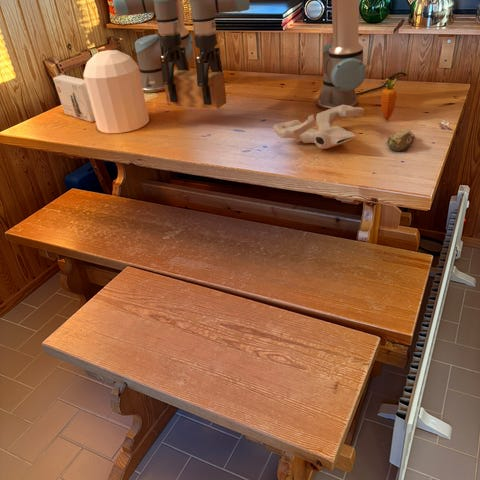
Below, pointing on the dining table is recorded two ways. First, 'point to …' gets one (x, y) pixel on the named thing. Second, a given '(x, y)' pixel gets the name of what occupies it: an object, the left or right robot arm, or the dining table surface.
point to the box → (197, 90)
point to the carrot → (388, 99)
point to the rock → (400, 140)
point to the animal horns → (320, 128)
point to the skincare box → (74, 97)
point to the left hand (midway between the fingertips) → (179, 98)
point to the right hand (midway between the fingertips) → (213, 100)
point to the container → (115, 92)
